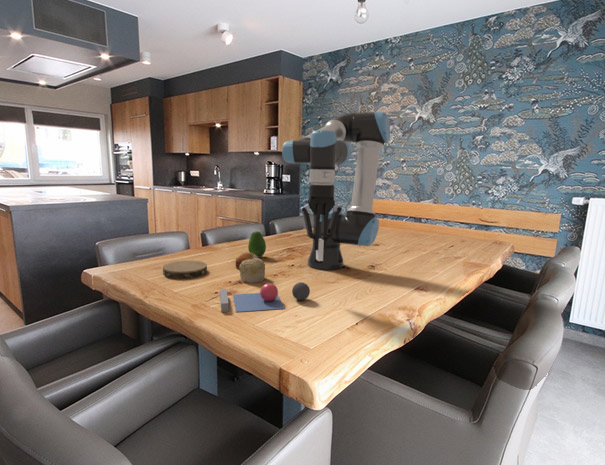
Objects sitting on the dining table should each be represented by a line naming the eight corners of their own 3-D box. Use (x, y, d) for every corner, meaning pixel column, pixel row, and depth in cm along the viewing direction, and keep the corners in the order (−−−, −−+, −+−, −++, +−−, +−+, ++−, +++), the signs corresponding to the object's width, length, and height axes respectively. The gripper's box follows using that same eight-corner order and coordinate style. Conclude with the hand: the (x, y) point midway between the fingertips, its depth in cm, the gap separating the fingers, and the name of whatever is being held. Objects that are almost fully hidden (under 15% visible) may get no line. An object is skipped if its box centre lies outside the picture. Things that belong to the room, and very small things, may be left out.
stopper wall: (226, 296, 111) (226, 289, 110) (228, 311, 99) (228, 303, 99) (220, 297, 110) (219, 289, 110) (221, 311, 99) (221, 303, 98)
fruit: (264, 259, 157) (265, 233, 155) (246, 259, 158) (247, 232, 155) (266, 255, 165) (267, 230, 163) (249, 254, 165) (249, 229, 163)
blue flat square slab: (276, 292, 116) (276, 292, 116) (284, 308, 102) (284, 308, 102) (232, 295, 112) (232, 294, 112) (236, 312, 99) (236, 311, 99)
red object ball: (275, 280, 111) (258, 282, 109) (279, 285, 105) (260, 287, 104) (276, 296, 112) (259, 298, 110) (280, 302, 106) (261, 305, 105)
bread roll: (260, 274, 148) (262, 255, 150) (255, 270, 138) (257, 250, 140) (237, 272, 149) (239, 254, 151) (231, 268, 139) (233, 249, 141)
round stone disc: (194, 265, 146) (194, 258, 145) (214, 274, 135) (214, 266, 134) (156, 272, 135) (155, 264, 134) (174, 282, 124) (174, 274, 123)
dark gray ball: (293, 278, 111) (287, 293, 111) (299, 284, 106) (292, 301, 106) (308, 281, 113) (302, 297, 114) (315, 288, 108) (308, 304, 109)
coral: (253, 284, 123) (253, 263, 122) (234, 279, 128) (234, 259, 127) (270, 278, 130) (270, 258, 129) (251, 273, 136) (251, 254, 134)
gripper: (304, 184, 101) (302, 264, 105) (346, 184, 104) (343, 262, 108) (297, 183, 108) (296, 257, 112) (337, 183, 111) (334, 255, 116)
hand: (319, 259), depth 110 cm, fingers closed
